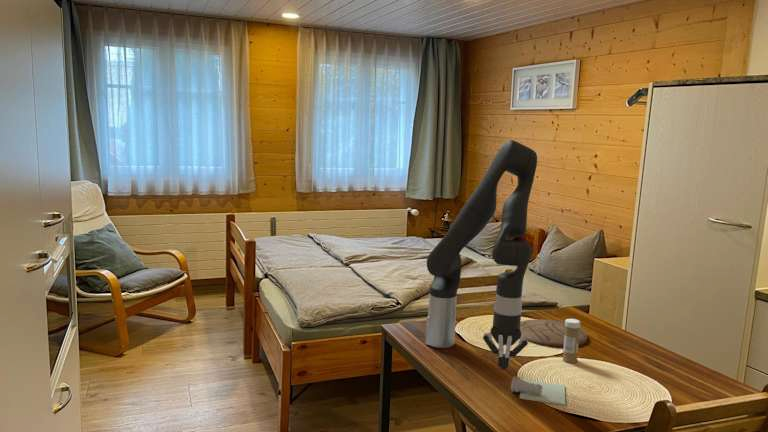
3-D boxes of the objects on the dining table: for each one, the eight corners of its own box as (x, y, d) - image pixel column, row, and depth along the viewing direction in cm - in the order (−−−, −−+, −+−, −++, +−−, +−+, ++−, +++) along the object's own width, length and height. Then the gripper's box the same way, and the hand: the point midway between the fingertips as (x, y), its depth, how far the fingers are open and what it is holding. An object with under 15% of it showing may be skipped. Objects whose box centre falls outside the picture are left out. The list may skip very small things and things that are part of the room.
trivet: (535, 350, 196) (536, 345, 196) (503, 325, 220) (503, 320, 220) (601, 346, 202) (601, 341, 202) (563, 322, 226) (563, 318, 226)
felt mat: (519, 398, 160) (519, 396, 160) (521, 380, 171) (521, 379, 171) (565, 405, 157) (565, 403, 157) (564, 386, 168) (564, 385, 168)
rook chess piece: (511, 377, 162) (541, 383, 158) (515, 374, 166) (543, 380, 163) (509, 393, 162) (539, 400, 158) (513, 389, 166) (541, 396, 162)
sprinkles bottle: (579, 361, 187) (583, 321, 185) (570, 364, 184) (574, 323, 182) (568, 356, 191) (571, 317, 189) (559, 359, 188) (562, 319, 186)
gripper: (482, 311, 162) (478, 370, 165) (531, 317, 159) (526, 377, 161) (485, 303, 169) (481, 360, 172) (532, 309, 166) (527, 366, 168)
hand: (503, 368), depth 167 cm, fingers closed
